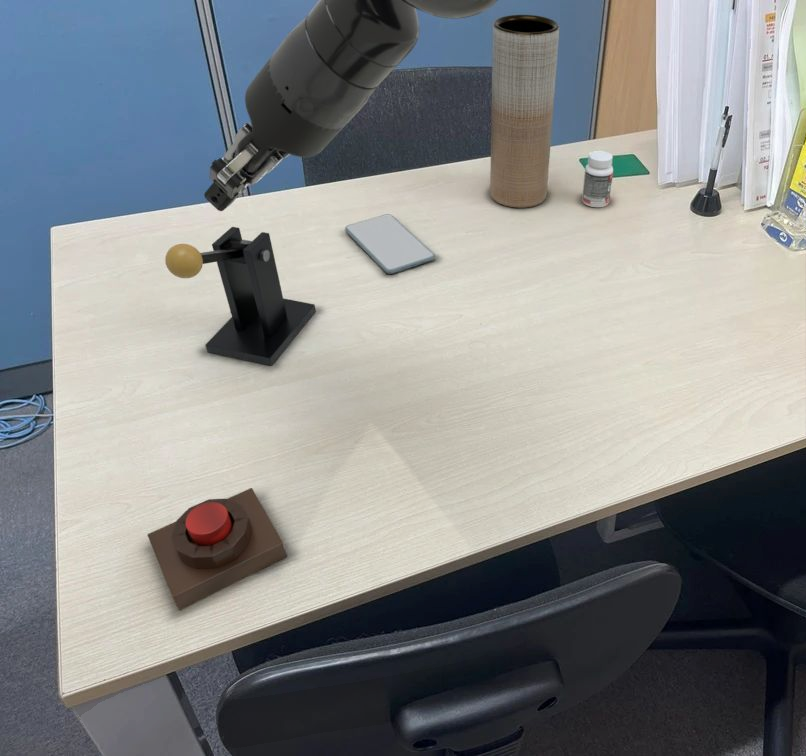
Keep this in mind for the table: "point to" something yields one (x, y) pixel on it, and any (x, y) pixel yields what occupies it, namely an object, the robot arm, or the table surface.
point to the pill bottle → (598, 179)
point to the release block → (217, 551)
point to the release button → (208, 523)
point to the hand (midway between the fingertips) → (215, 201)
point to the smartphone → (389, 243)
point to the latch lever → (201, 257)
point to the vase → (522, 108)
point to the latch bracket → (256, 305)
